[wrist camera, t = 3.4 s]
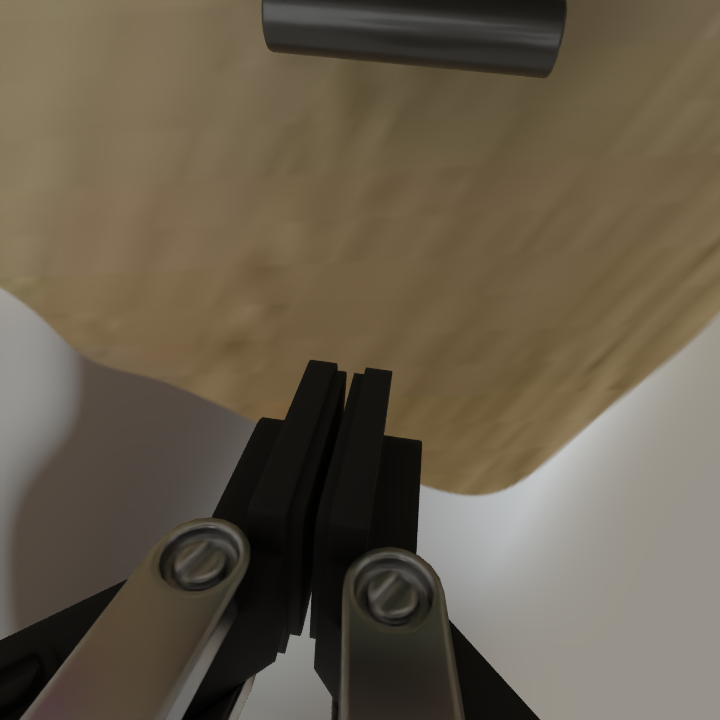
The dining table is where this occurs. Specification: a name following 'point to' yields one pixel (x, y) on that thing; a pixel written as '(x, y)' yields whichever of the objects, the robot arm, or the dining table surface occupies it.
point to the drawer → (422, 32)
